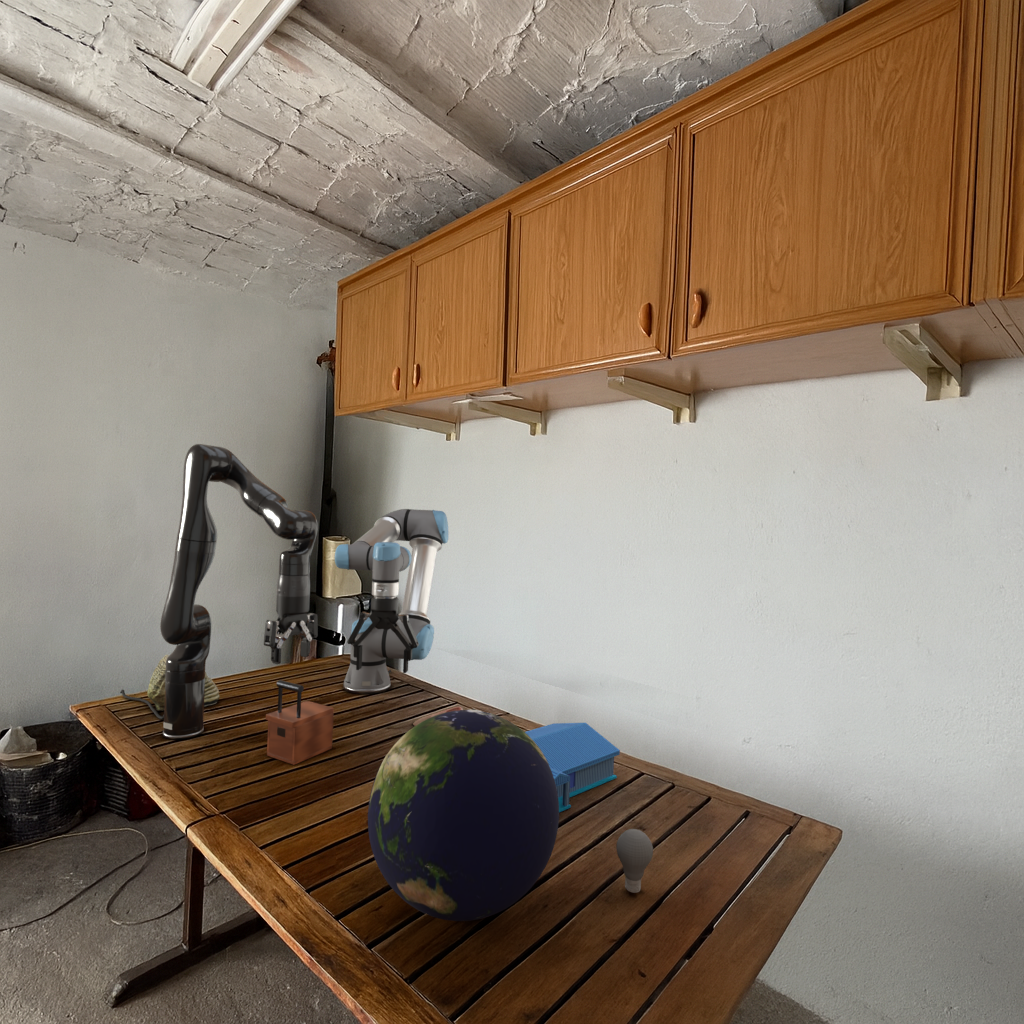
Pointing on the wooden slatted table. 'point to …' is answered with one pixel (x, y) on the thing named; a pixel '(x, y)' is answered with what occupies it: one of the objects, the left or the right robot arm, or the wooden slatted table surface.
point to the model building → (575, 757)
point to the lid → (297, 708)
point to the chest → (300, 740)
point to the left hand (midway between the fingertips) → (290, 659)
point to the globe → (463, 815)
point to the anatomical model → (436, 714)
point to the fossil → (158, 687)
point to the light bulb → (634, 857)
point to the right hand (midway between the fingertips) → (382, 670)
